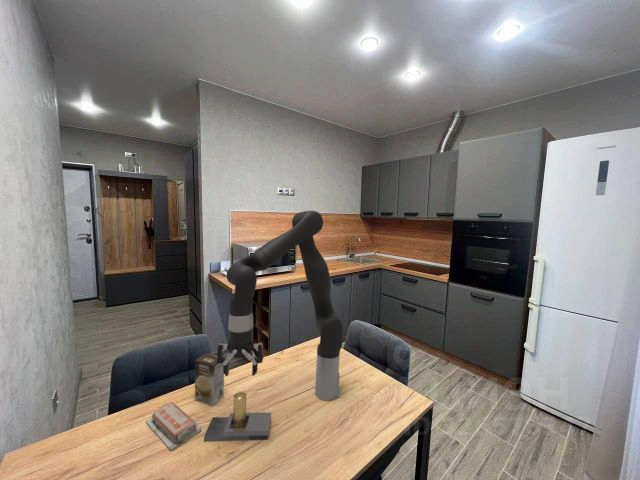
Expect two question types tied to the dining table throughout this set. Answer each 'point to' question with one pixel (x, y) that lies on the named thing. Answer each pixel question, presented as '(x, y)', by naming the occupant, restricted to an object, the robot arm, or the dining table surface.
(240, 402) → the pin
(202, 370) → the coffee box
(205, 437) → the grey socket base
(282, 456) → the dining table surface
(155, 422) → the packaged product
